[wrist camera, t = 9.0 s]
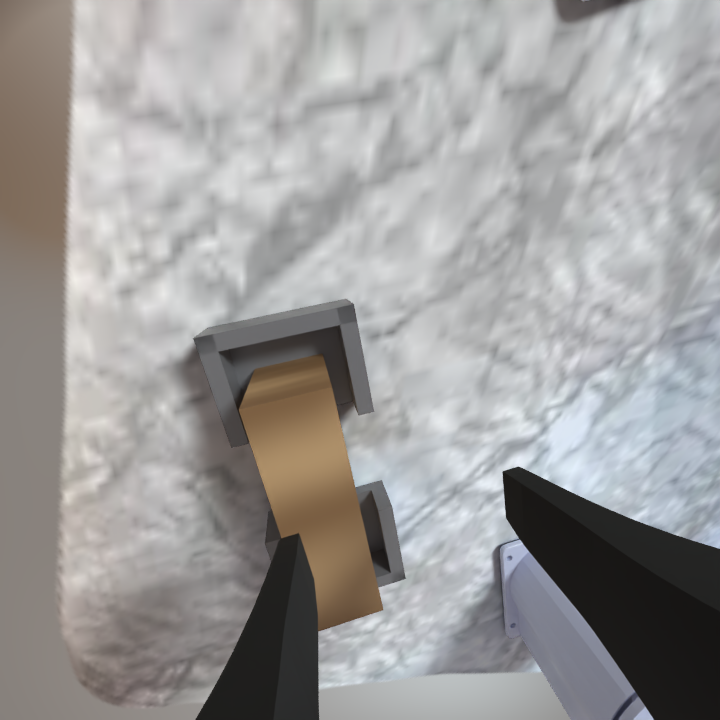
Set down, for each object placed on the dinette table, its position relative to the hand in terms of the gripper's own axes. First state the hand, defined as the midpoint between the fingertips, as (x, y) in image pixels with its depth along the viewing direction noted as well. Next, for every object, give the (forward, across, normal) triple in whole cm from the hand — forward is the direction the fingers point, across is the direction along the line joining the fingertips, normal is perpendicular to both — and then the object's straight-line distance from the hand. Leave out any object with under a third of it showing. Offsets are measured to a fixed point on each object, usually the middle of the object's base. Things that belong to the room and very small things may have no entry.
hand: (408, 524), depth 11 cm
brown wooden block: (+8, +3, +2) cm, 9 cm away
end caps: (+9, +3, +2) cm, 9 cm away
